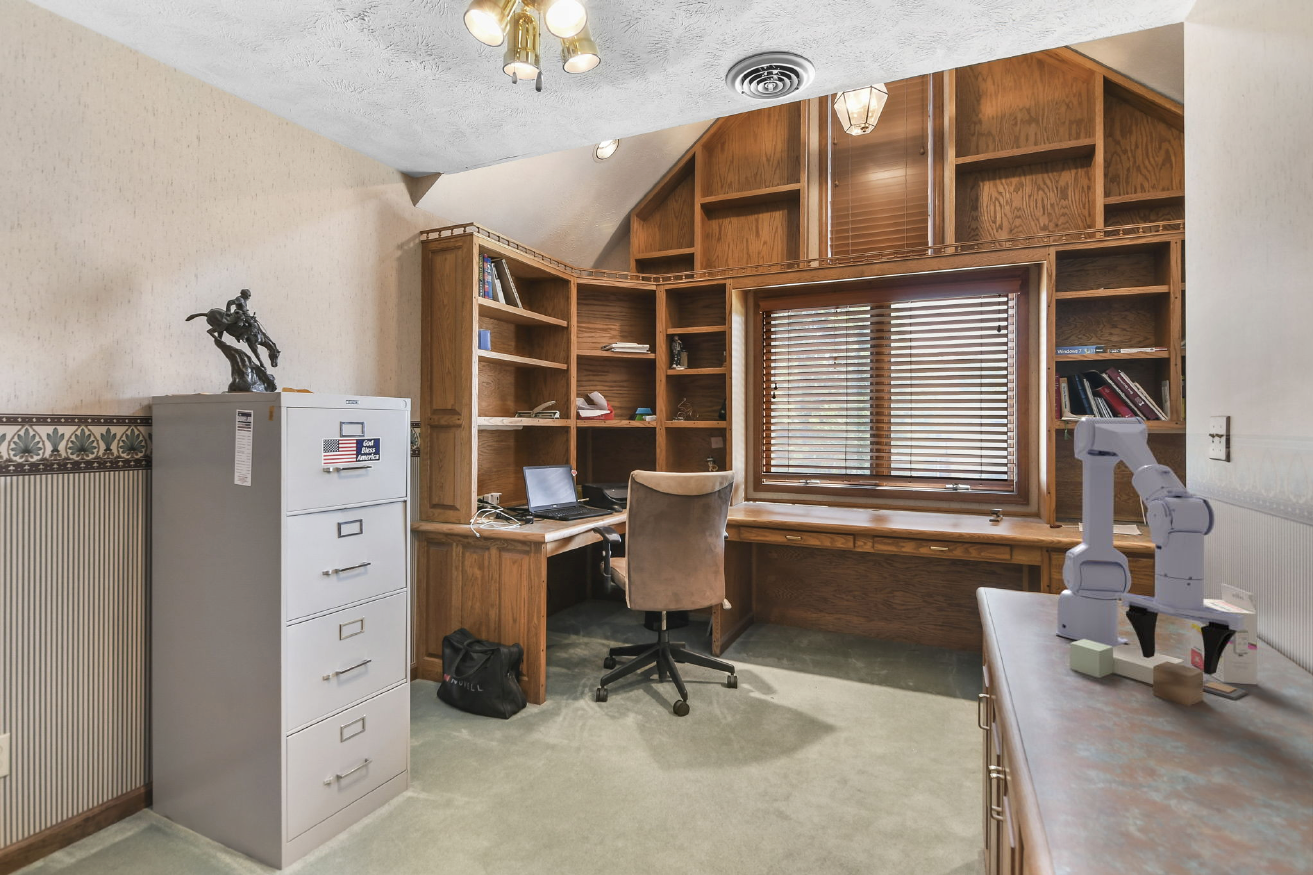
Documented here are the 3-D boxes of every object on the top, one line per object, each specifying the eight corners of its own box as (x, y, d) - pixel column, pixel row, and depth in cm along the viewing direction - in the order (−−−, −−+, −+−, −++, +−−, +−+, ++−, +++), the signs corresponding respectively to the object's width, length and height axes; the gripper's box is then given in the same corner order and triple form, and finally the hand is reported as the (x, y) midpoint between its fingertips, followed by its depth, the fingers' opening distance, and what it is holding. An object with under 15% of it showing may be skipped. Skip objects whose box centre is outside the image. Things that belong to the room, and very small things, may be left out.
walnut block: (1153, 695, 95) (1153, 666, 95) (1166, 689, 97) (1167, 661, 97) (1189, 706, 91) (1189, 676, 91) (1202, 700, 93) (1203, 670, 93)
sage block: (1069, 669, 105) (1070, 642, 105) (1083, 664, 107) (1084, 638, 107) (1099, 678, 101) (1099, 651, 101) (1113, 673, 103) (1113, 646, 103)
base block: (1095, 669, 106) (1095, 652, 106) (1122, 660, 110) (1122, 644, 110) (1158, 688, 98) (1158, 669, 98) (1183, 678, 102) (1184, 660, 102)
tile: (1192, 687, 97) (1192, 683, 97) (1206, 681, 100) (1206, 678, 100) (1234, 699, 93) (1234, 695, 93) (1247, 693, 95) (1247, 689, 95)
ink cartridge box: (1188, 663, 108) (1189, 580, 108) (1221, 666, 107) (1222, 582, 107) (1222, 683, 99) (1223, 592, 99) (1258, 685, 98) (1259, 594, 98)
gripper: (1111, 569, 98) (1111, 653, 98) (1229, 589, 85) (1228, 686, 85) (1133, 565, 101) (1133, 646, 101) (1250, 583, 89) (1249, 677, 89)
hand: (1178, 664), depth 94 cm, fingers open, 7 cm apart
